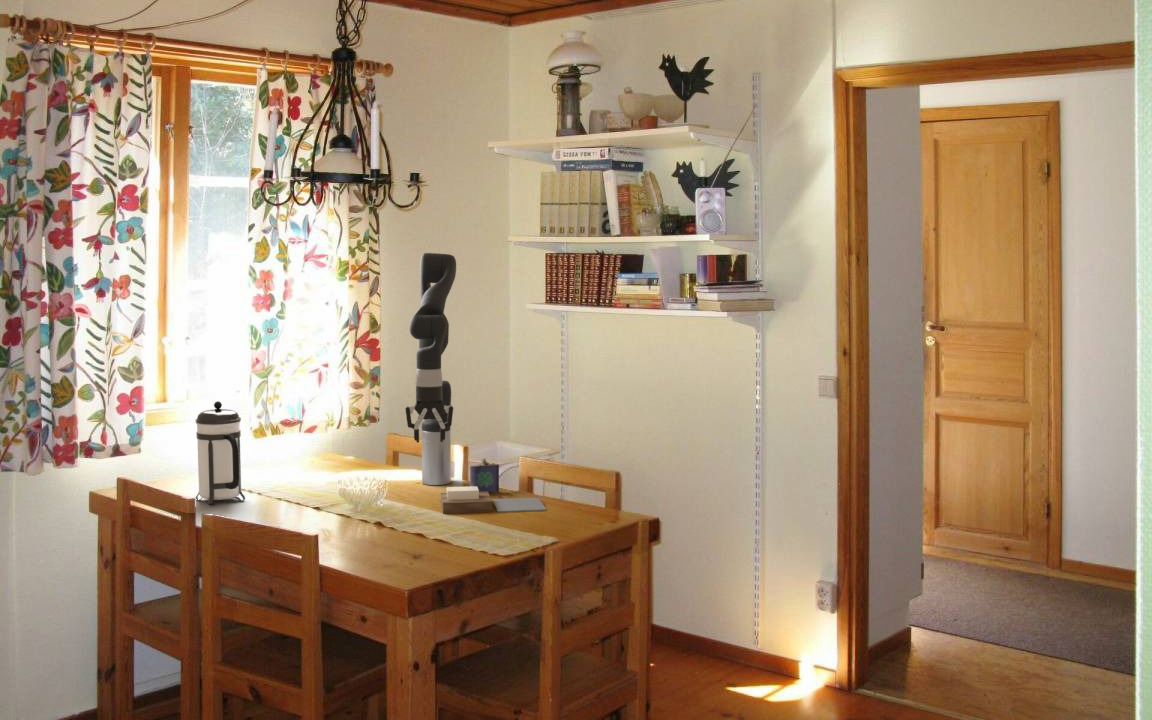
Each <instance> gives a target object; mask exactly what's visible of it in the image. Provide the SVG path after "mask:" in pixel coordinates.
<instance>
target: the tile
mask: <svg viewBox="0 0 1152 720" xmlns="http://www.w3.org/2000/svg"><path fill="white" fill-rule="evenodd" d="M445 490H446V493H447V499H448V500H462V499H479V490H478V487H477V486H470V485H469V486H447V487H446V489H445Z"/></svg>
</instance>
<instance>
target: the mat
mask: <svg viewBox="0 0 1152 720" xmlns="http://www.w3.org/2000/svg"><path fill="white" fill-rule="evenodd" d="M492 504H493V505H494V507H495V509H496V511H497V513H515V512H516V513H517V512H518V513H519V512H521V513H522V512H523V513H524V512H543V511H544V512H545V511H547V508H546V507H545V505H544V503H543V502H542V501H541V499H540V497H520V498H519V497H518V498H517V497H515V498H493V499H492Z"/></svg>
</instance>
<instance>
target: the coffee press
mask: <svg viewBox="0 0 1152 720" xmlns="http://www.w3.org/2000/svg"><path fill="white" fill-rule="evenodd" d="M222 406H223V403H222V402H221V401H215V402H214V403H213V407H214V409H207V410H203V411H202V412H199V414H198V415H197V417H196V419H195V424H196V439H197V469H198V471H197V472H198V473H197V475H198V493H197V495H196V496H195V497H194V499H195V498H196V499H197V500H196V499H195V500H196V502H199V501H201V500H202V499H204V500H208V501H207V505H214V506H215V503H216V501H217V500H219V501H220V500H228V499H236V500H238V502H240V503H242V502H244V501H245V500H246V496H245V495H244V494H243V493H242V492H243V491H242V472H241V466H242V465H241V434H242V433H241V429H240V428H241V427H240V423H241V421H242V420H241V419H242V418H241V417H240V416H239V413H238V412H237V411H235V410H233V409H228V408H222ZM199 496H200V497H201V498H200V499H199V498H198V497H199ZM239 496H241V498H240V497H239ZM198 499H199V501H198Z"/></svg>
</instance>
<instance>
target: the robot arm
mask: <svg viewBox="0 0 1152 720" xmlns="http://www.w3.org/2000/svg"><path fill="white" fill-rule="evenodd" d="M456 260H457V259H456V258H455V256H454V255H452V254H449V253H436V252H435V253H434V252H433V253H432V252H424V253H422V255H421V257H420V262H419V287H420V289H419V291H420V305H419V308H418V310H416V312H415V313H414V315H413V316H412V317H411V320H410V323H409V332H410V335H411V337H412V338H413V339H416V340H418V342H419V343H418V348H419V349H417V350H416V372H415V373H416V374H415V404H414V405H411V406H409V405H407V406H405V414H406V423H407V425H406V426H407V427H408V428H409V429H412V430H413V438H414V441H416V443H417V444H418V443H420V429H419V427H420V426H421V467H422V468H421V470H422V471H421V477H422V478H421V481H422V485H423V484H424V485H427V486H442V485H443V486H444V485H448V484H450V483H452V471H451V470H452V461H451V460H452V458H451V457H452V455H451V453H452V451H451V450H452V449H451V446H452V445H451V444H452V443H451V427H452V423H453V415H454V407H453V405H452V387H451V383H450V382H449V381H448V380H443V372H442V355H443V354H444V352H445V351H446V349H447V347H448V344H449V331H450V329H449V328H450V324H449V320H448V318H447V316H446V314H445V307H446V302H447V298H448V296H449V294H450V291H451V290H452V287H453V284H454V282H455V279H456V275H457V261H456ZM432 284H433V285H432ZM414 410H415V411H416V413H417V414H418V416H417V418H416V421H415V422H414V423H413V422H412V418H411V417H412V414H414V413H413V412H414Z"/></svg>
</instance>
